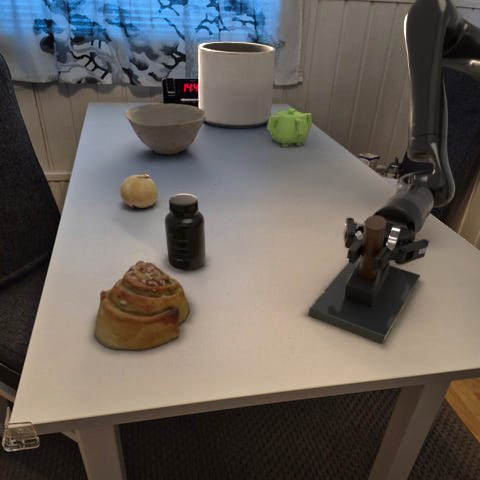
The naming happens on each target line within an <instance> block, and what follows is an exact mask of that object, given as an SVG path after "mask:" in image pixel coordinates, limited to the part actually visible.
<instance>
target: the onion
mask: <svg viewBox="0 0 480 480" xmlns="http://www.w3.org/2000/svg"><path fill="white" fill-rule="evenodd" d="M150 177H151V176H150V175H149V174H147V170H145V171H144V173H143V174H134V175H133V174H132V175H130V176H128V177H126V178H125V179H124V180H123V182H122V184H121V185H120V189H119V190H120V191H119V193H120V198H121V199H122V200H123V202H124V203H125V204H126V205H128V206H129V207H131V208H132V209H135V207H136V208H140V209H144V208H148V207H151V206H152V205H154V204H155V203H156V201H157V199H158V196H159V191H158V187H157V185H156V183H155V182H154V181H153V180H152V179H151V178H150Z"/></svg>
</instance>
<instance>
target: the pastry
mask: <svg viewBox="0 0 480 480" xmlns="http://www.w3.org/2000/svg"><path fill="white" fill-rule="evenodd" d="M190 308H191V307H190V303H189V301H188V299H187V297H186V295H185V290H184V288H183V285H182V284H181V283H180V282H179V281H178V280H177V279H175V278H173V277H170V275H169V274H167V273H166V272H165V271H163V270H162V269H161V268H159V267H157V266H156V265H155V264H154V263H152V262H148V261H144V260H138V261H136V263H135V264H133V265H131V266H130V267H129V268H128V270H127V271H126V272H125V273H124V274H123V276H122V277H121V278H119V279H118V280H117V281H116V282H115V283H114V284H113V286H112V287H111V288H110V289H107V290H101V291H100V297H99V306H98V308H97V309H98V310H97V314H96V318H95V319H96V320H95V326H94V335H95V337H96V339H97V341H99V342H100V343H101V344H102V345H104V346H105V347H107V348H109V349H115V350H131V351H143V350H147V349H148V350H149V349H152V348H155V347H158V346H161V345H163V344H166V343H167V342H169V341H172V340H175V339H177V338H178V337H179V336H180V325H181V324H182V323H184V321H185V320H187V317H188V316H189V314H190Z"/></svg>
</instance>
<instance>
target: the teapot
mask: <svg viewBox="0 0 480 480" xmlns="http://www.w3.org/2000/svg"><path fill="white" fill-rule="evenodd" d="M311 128H313V114H312V113H310V112H308V113H307V112H306V113H302V112H301V111H298V110H296V109H295V108H292V107H291V108H287V110H282V109H278V110H277V112H276V113H275V115H271V116H269V120H268V121H267V125H266V130H268V131H269V132H270V136H271V138H273V139H274V142H276V143H281V146H282V147H284V148H285V147H289V144H295V145H296V146H302V145H303V144H302V143H303V142H305V141H306V140H307V139H308V136H309V130H310V129H311Z"/></svg>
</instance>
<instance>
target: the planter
mask: <svg viewBox="0 0 480 480" xmlns="http://www.w3.org/2000/svg"><path fill="white" fill-rule="evenodd" d="M197 49H198V51H197V53H198V54H197V55H198V57H197V58H198V108H199V109H203V110H204V111H206V112H207V117H206V119H205V121H204V122H206V123H207V124H210V125H212V126H215V127H221V128H226V129H227V128H229V129H249V128H257V127H260V126H263V125H264V124H266V123H268V120H269V116H272V110H273V95H274V94H273V93H274V76H275V64H276V63H275V62H276V48H274V47H272V46H270V45H266V44H260V43H254V42H253V43H252V42H242V41H241V42H240V41H213V42H205V43H201V44H199V45H198V47H197Z"/></svg>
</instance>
